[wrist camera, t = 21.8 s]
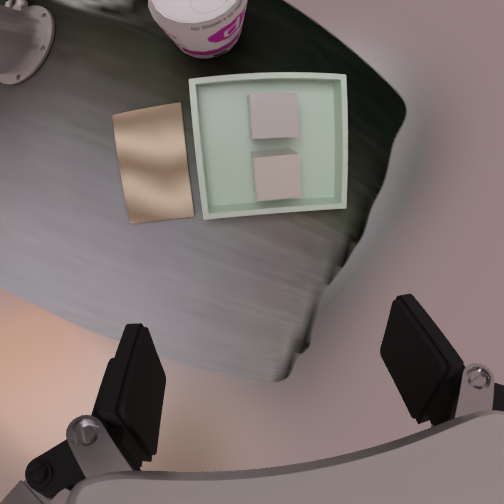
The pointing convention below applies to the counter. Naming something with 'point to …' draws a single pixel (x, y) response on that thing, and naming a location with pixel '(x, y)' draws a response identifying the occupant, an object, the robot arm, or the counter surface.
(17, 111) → the counter surface
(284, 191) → the stone
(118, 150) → the birch board
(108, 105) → the counter surface
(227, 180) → the tub
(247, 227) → the counter surface
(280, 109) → the stone
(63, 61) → the counter surface
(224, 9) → the supplement can
